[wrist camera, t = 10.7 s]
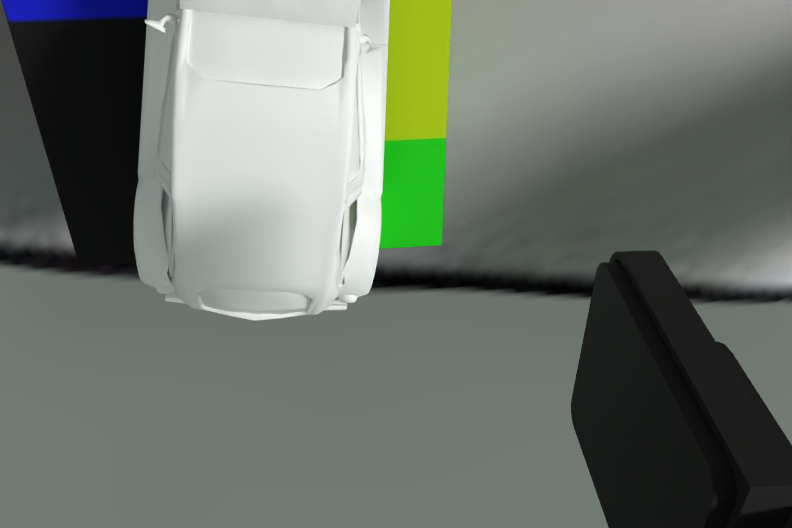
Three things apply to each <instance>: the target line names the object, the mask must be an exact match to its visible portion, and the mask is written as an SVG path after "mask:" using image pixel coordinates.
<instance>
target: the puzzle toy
mask: <svg viewBox="0 0 792 528" xmlns="http://www.w3.org/2000/svg"><path fill="white" fill-rule="evenodd" d="M1 1H2V4H3V7H4V11H5V14H6V18H7V21H8V24H9V28H10V31H11V35H12V38H13V41H14V45H15V48H16V52H17V55H18V58H19V62H20V65H21V69H22V72H23V75H24V79H25V82H26V86H27V89H28V92H29V96H30V99H31V103H32V106H33V109H34V113H35V116H36V120H37V123H38V126H39V130H40V133H41V137H42V140H43V143H44V147H45V150H46V154H47V157H48V160H49V164H50V167H51V170H52V174H53V177H54V181H55V184H56V187H57V191H58V194H59V198H60V201H61V204H62V208H63V211H64V215H65V218H66V221H67V225H68V228H69V232H70V235H71V238H72V242H73V245H74V249H75V252H76V255H77V259H78V262H79V266H80V267H81V266H98V265H115V264H132V263H136V256H135V251H134V206H135V197H136V191H137V185H138V181H139V180H138V162H139V145H140V128H141V111H142V95H143V78H144V61H145V44H146V27H147V24H146V23H145V19H146V20H147V11H148V0H1ZM451 3H452V0H390V8H389V34H388V61H387V87H386V113H385V139H384V165H383V191H382V196H381V235H380V245H379V249H385V248H402V247H419V246H436V245H442V229H443V204H444V179H445V154H446V129H447V104H448V78H449V53H450V28H451Z"/></svg>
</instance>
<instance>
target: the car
mask: <svg viewBox="0 0 792 528" xmlns="http://www.w3.org/2000/svg"><path fill="white" fill-rule="evenodd" d="M389 8H390V0H148V11H147V20H146V19H145V23H146V24H147V27H146V44H145V61H144V78H143V95H142V111H141V128H140V145H139V162H138V180H139V181H138V185H137V191H136V197H135V206H134V251H135V256H136V263H137V268H138V273H139V276H140V279H141V281H142V282H143V283H145V284H147V285H150V286H152V287H155V288H156V289H157V292H158V293H161V294H166V296H165V301H168V302H176V303H185V304H187V305H189V306H190V307H191V308H192V309H203V310H207V311H212V312H216V313H220V314H225V315H229V316H233V317H239V318H244V319H249V320H254V321H257V320H267V319H277V318H286V317H292V316H300V315H307V314H312V315H317V314H319V313H320V312H322V311H324V310H347V303H354V302H355V301H356V299H357V297H360V296H364V295H367V294H368V293H369V291H370V289H371V286H372V282H373V279H374V274H375V270H376V265H377V260H378V253H379V245H380V235H381V196H382V191H383V165H384V139H385V113H386V87H387V61H388V34H389ZM336 298H339V300H335V299H336Z"/></svg>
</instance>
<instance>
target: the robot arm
mask: <svg viewBox="0 0 792 528" xmlns="http://www.w3.org/2000/svg"><path fill="white" fill-rule="evenodd" d="M571 415H572V422H573V425H574V429H575V431H576V435H577V437H578V440H579V443H580V446H581V449H582V452H583V455H584V457H585V460H586V463H587V466H588V469H589V472H590V475H591V478H592V481H593V483H594V486H595V489H596V492H597V495H598V498H599V500H600V504H601V506H602V509H603V512H604V515H605V518H606V521H607V524H608V526H609V528H792V445H791V444H790V442H789V440H788V439H787V437H786V436H785V434H784V433H783V431H782V430H781V428H780V427H779V425H778V423H777V422H776V420H775V419H774V417H773V416H772V414H771V413H770V411H769V409H768V408H767V406H766V405H765V403H764V402H763V400H762V399H761V397H760V395H759V394H758V392H757V391H756V389H755V388H754V386H753V385H752V383H751V381H750V380H749V378H748V377H747V375H746V374H745V372H744V370H743V369H742V368H741V366H740V364H739V363H738V361H737V360H736V358H735V357H734V355H733V353H732V352H731V351H730V350H729V349H728V348H727V346H726V345H724V344H722V343H720V342H715V340H714V338H713V337H712V335H711V334H710V332H709V331H708V329H707V327H706V326H705V324H704V323H703V321H702V319H701V318H700V316H699V314H698V313H697V311H696V310H695V308H694V306H693V305H692V303H691V302H690V300H689V299H688V297H687V295H686V294H685V292H684V291H683V289H682V287H681V286H680V284H679V283H678V281H677V279H676V278H675V276H674V275H673V273H672V271H671V270H670V268H669V267H668V265H667V263H666V262H665V260H664V259H663V257H662V256H661V255H660V253H659V252H657V251H625V252H615V253H614V254H613V255H612V257H611V259H610V262H607V263H601V264H599V266H598V268H597V272H596V277H595V282H594V287H593V292H592V297H591V303H590V308H589V314H588V318H587V323H586V328H585V333H584V338H583V344H582V349H581V354H580V359H579V364H578V369H577V374H576V380H575V385H574V390H573V396H572V401H571Z"/></svg>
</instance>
